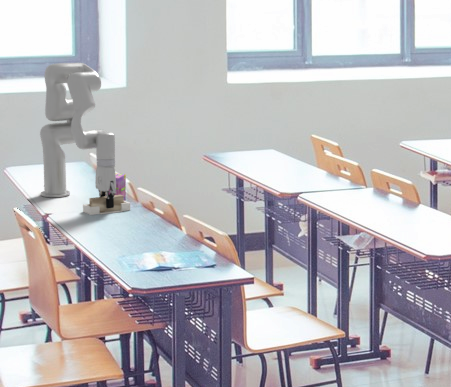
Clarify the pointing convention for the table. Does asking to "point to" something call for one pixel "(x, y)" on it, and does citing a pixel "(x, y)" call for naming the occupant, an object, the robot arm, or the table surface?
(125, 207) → the endcaps
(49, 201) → the table surface
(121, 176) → the box
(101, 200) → the slat
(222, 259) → the table surface
